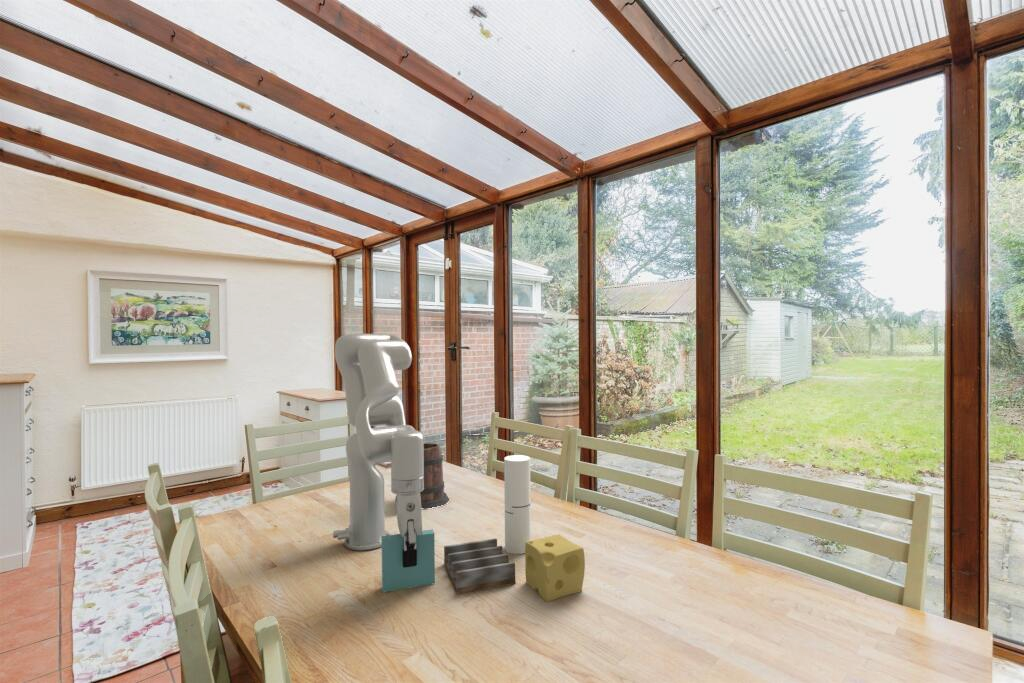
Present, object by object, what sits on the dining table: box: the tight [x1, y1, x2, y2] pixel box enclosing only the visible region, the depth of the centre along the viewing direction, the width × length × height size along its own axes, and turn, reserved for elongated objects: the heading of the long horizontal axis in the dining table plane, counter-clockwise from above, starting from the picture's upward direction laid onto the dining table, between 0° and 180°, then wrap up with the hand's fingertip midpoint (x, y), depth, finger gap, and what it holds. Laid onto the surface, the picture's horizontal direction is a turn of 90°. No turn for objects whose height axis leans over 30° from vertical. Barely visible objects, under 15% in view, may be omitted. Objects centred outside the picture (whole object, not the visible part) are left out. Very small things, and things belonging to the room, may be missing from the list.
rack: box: [443, 538, 517, 595], centre depth 120 cm, size 14×16×5 cm
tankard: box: [394, 442, 450, 508], centre depth 171 cm, size 24×17×20 cm
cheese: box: [524, 534, 586, 603], centre depth 113 cm, size 10×11×10 cm
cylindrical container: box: [503, 454, 532, 555], centre depth 134 cm, size 7×7×25 cm
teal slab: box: [381, 528, 436, 593], centre depth 114 cm, size 12×2×12 cm, turn 109°
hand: (408, 560), depth 114 cm, fingers open, 4 cm apart
